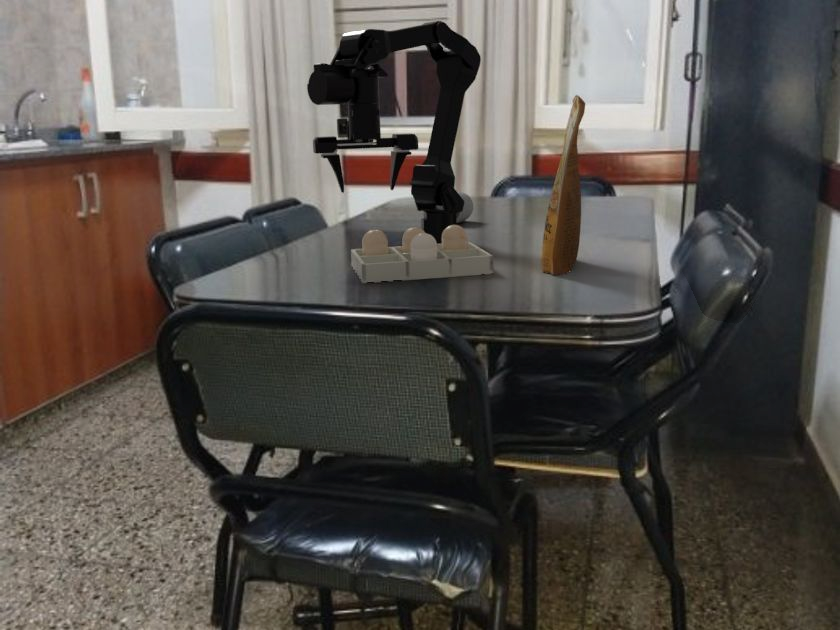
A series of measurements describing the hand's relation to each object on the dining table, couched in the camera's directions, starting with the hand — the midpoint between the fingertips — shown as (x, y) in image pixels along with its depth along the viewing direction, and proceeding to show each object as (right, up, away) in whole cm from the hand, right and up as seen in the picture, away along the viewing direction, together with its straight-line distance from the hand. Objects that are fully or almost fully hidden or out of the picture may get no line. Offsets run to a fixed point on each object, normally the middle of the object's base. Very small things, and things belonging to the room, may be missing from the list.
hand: (367, 191), depth 145 cm
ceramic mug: (+17, -1, +42) cm, 45 cm away
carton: (+10, -15, -12) cm, 22 cm away
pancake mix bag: (+34, -15, -12) cm, 39 cm away
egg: (+10, -16, -15) cm, 24 cm away
